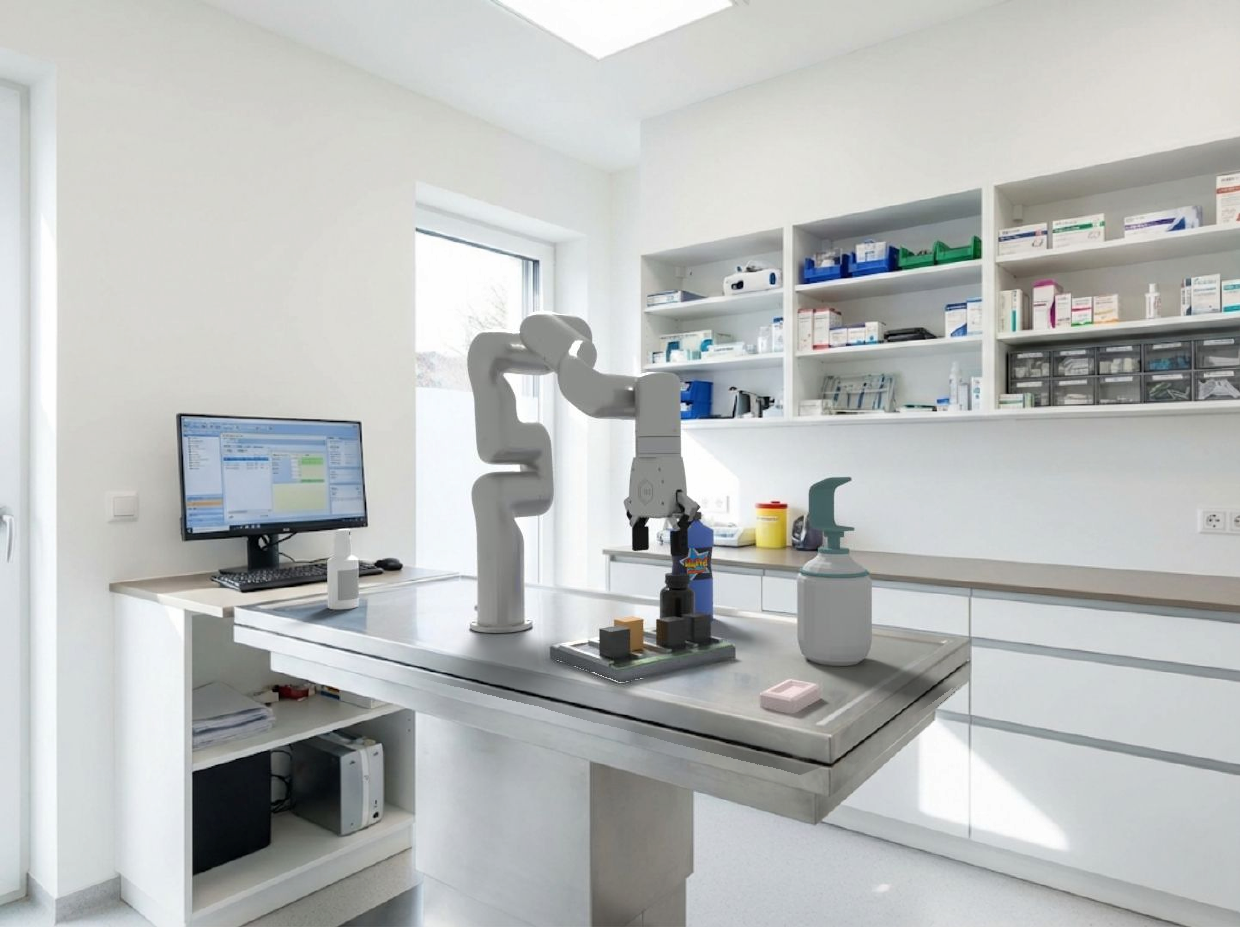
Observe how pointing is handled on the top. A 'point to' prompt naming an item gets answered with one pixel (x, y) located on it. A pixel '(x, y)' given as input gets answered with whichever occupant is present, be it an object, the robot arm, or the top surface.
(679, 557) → the water bottle
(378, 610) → the top surface
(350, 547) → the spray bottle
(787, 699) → the soap bar
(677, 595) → the supplement bottle
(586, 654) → the breaker panel
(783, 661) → the top surface
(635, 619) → the handle
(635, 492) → the robot arm
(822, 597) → the soap bottle
